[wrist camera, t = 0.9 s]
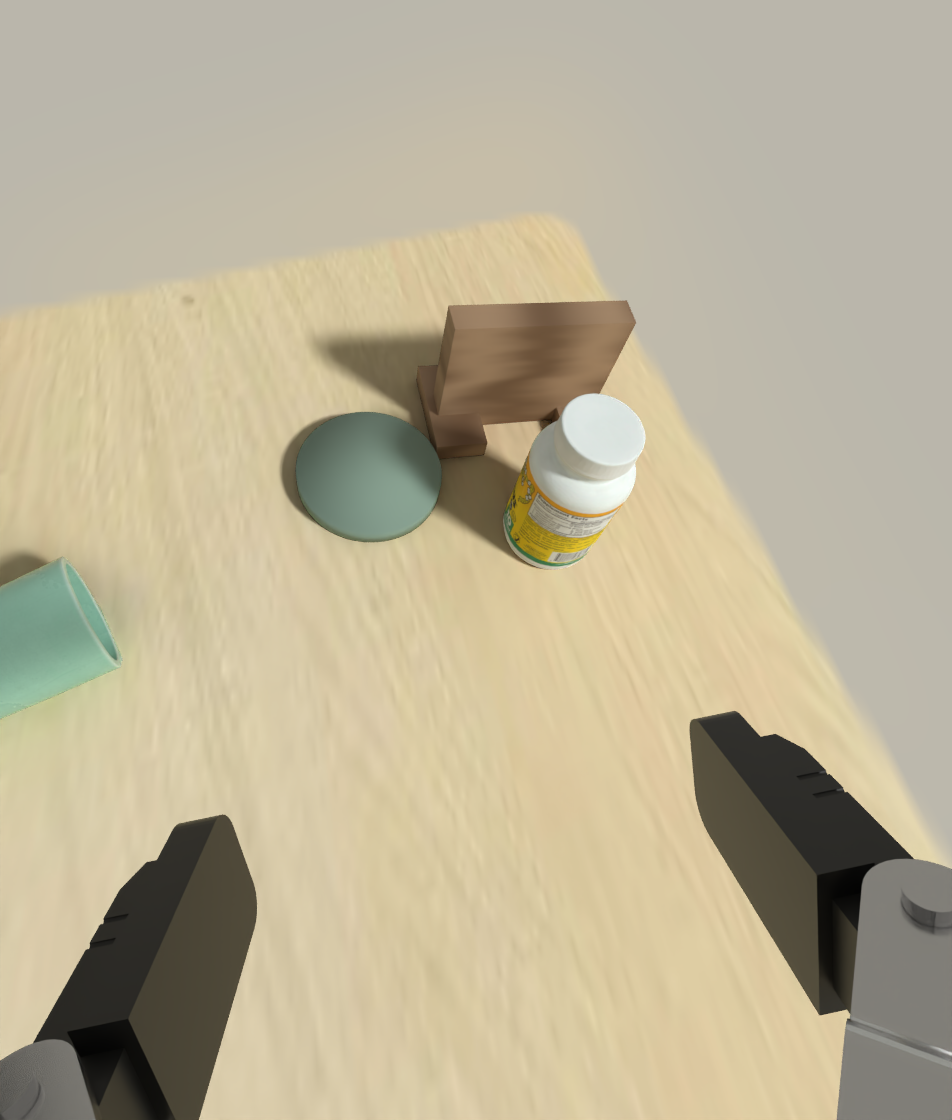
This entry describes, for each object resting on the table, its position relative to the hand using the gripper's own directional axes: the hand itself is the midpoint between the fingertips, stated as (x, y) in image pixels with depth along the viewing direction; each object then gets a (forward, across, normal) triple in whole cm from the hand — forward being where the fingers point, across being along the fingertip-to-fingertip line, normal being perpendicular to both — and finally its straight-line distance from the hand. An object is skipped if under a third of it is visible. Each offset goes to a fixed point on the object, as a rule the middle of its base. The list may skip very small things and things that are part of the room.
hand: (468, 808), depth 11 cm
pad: (+28, +3, -2) cm, 28 cm away
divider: (+32, -6, -3) cm, 33 cm away
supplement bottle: (+27, -6, +3) cm, 27 cm away
